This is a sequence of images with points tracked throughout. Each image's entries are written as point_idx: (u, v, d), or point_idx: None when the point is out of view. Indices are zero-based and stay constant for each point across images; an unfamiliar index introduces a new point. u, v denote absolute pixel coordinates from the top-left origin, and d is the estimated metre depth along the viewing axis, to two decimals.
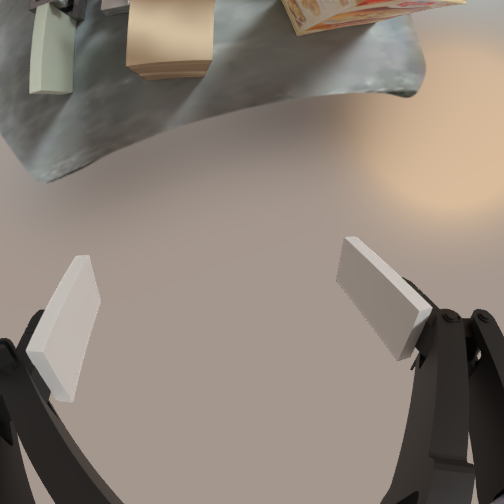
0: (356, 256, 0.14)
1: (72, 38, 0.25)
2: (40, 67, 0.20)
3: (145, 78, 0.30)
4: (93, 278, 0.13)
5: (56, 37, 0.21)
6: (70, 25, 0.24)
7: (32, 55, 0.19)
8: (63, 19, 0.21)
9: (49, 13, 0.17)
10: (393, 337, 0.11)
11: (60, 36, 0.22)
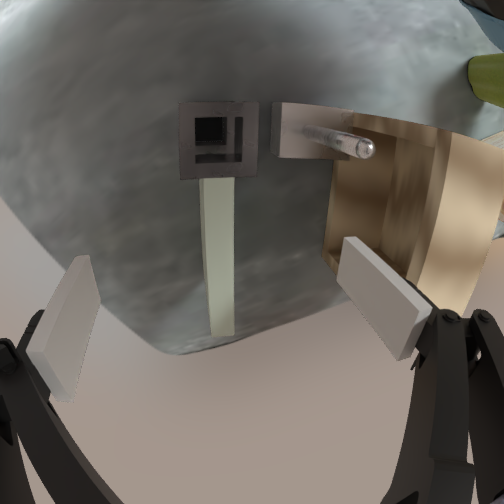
0: (356, 256, 0.14)
1: None
2: (231, 305, 0.19)
3: None
4: (93, 278, 0.13)
5: None
6: None
7: (211, 283, 0.18)
8: None
9: None
10: (393, 337, 0.11)
11: None
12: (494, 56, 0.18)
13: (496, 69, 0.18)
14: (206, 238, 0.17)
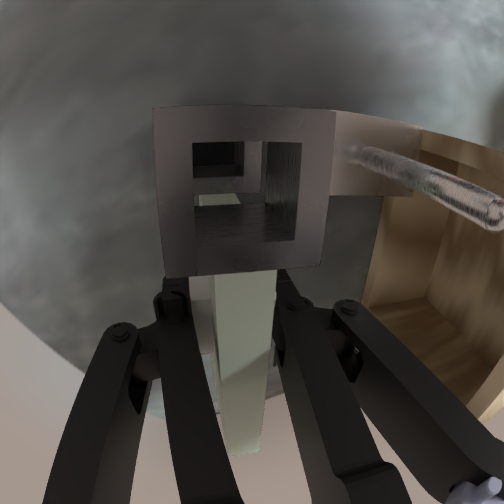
0: None
1: None
2: (258, 430, 0.11)
3: None
4: None
5: None
6: None
7: (229, 414, 0.10)
8: None
9: None
10: None
11: None
12: None
13: None
14: (221, 366, 0.09)
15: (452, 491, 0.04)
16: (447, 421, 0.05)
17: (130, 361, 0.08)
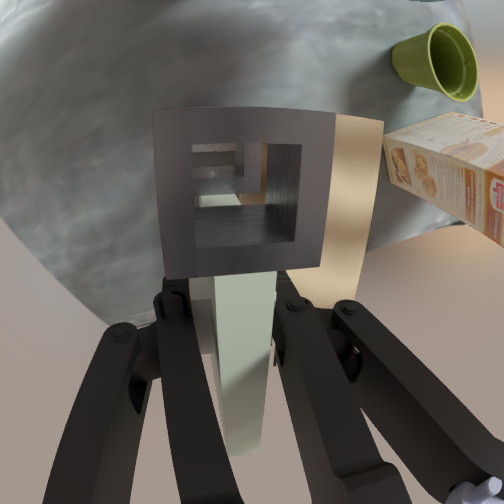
0: None
1: None
2: (258, 430, 0.11)
3: None
4: None
5: None
6: None
7: (230, 414, 0.10)
8: None
9: None
10: None
11: None
12: (415, 37, 0.23)
13: (414, 50, 0.23)
14: (221, 367, 0.09)
15: (452, 491, 0.04)
16: (447, 421, 0.05)
17: (130, 361, 0.08)
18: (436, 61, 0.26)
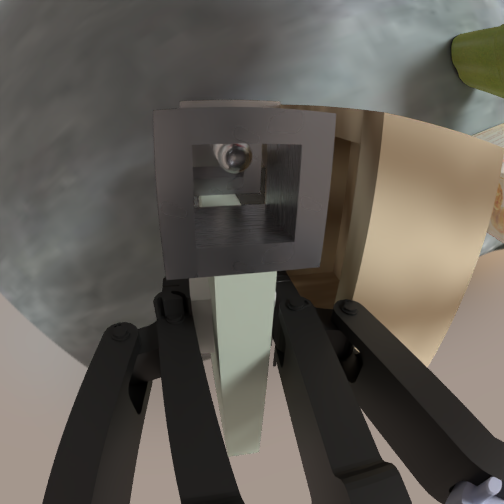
0: None
1: None
2: (258, 430, 0.11)
3: None
4: None
5: None
6: None
7: (230, 414, 0.10)
8: None
9: None
10: None
11: None
12: (482, 31, 0.14)
13: (485, 46, 0.14)
14: (221, 367, 0.09)
15: (452, 491, 0.04)
16: (447, 421, 0.05)
17: (130, 361, 0.08)
18: None
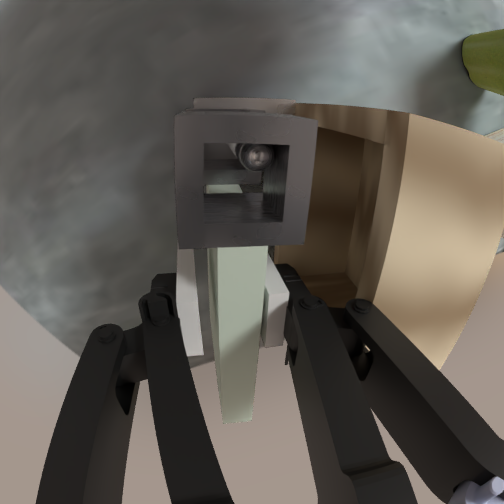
0: None
1: None
2: (251, 396, 0.13)
3: None
4: None
5: None
6: None
7: (226, 377, 0.12)
8: None
9: None
10: (261, 322, 0.12)
11: None
12: (493, 32, 0.13)
13: (496, 47, 0.13)
14: (220, 329, 0.11)
15: (456, 491, 0.04)
16: (453, 420, 0.05)
17: (116, 362, 0.08)
18: None
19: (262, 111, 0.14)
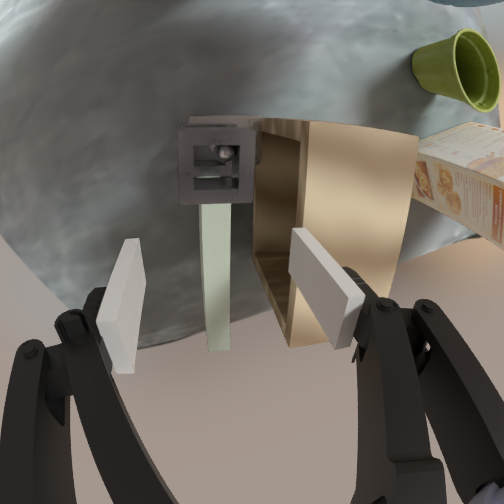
0: (301, 246, 0.15)
1: None
2: (227, 322, 0.20)
3: None
4: (141, 260, 0.15)
5: None
6: None
7: (208, 302, 0.19)
8: None
9: None
10: (330, 325, 0.12)
11: None
12: (437, 43, 0.21)
13: (437, 56, 0.21)
14: (204, 260, 0.17)
15: (478, 492, 0.04)
16: (490, 417, 0.05)
17: (41, 374, 0.07)
18: (456, 69, 0.24)
19: (235, 125, 0.21)
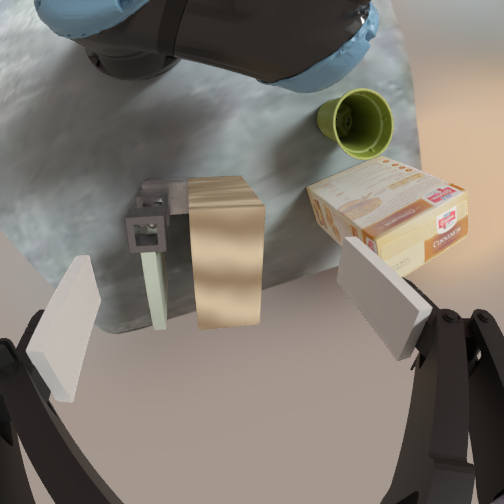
0: (356, 256, 0.14)
1: None
2: (162, 313, 0.34)
3: None
4: (93, 278, 0.13)
5: (161, 267, 0.35)
6: None
7: (150, 301, 0.33)
8: None
9: (156, 259, 0.31)
10: (393, 337, 0.11)
11: (161, 258, 0.36)
12: (333, 102, 0.35)
13: (328, 116, 0.35)
14: (145, 280, 0.32)
15: (496, 499, 0.04)
16: None
17: None
18: (360, 116, 0.38)
19: (166, 195, 0.35)
